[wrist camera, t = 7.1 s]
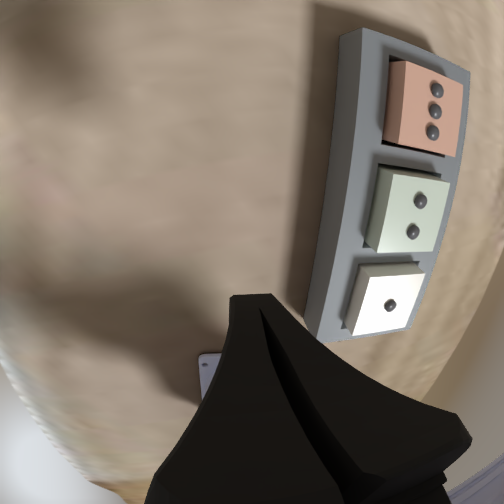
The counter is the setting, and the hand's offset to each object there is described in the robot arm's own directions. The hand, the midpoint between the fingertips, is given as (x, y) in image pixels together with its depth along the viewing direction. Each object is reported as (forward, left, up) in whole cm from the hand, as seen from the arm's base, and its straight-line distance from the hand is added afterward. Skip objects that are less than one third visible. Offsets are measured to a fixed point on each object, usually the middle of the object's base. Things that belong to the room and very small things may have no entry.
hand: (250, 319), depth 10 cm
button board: (+2, -11, -10) cm, 15 cm away
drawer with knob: (-5, -11, -10) cm, 16 cm away
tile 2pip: (+1, -11, -10) cm, 15 cm away
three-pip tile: (+8, -11, -10) cm, 17 cm away
